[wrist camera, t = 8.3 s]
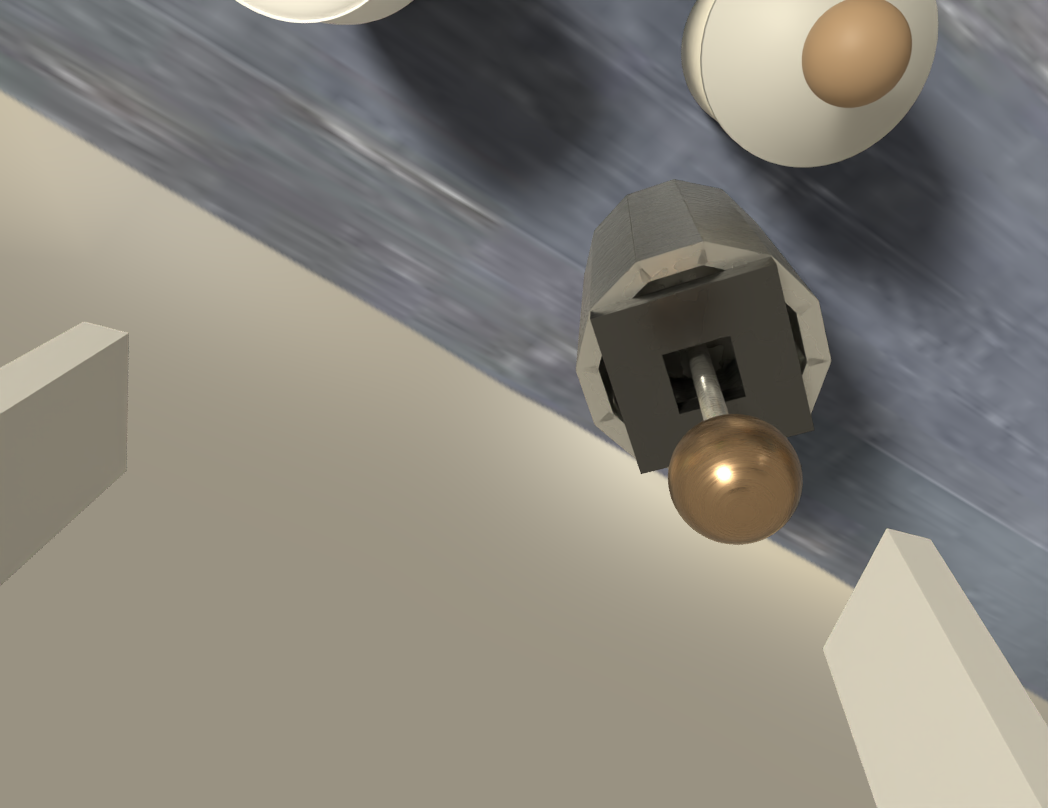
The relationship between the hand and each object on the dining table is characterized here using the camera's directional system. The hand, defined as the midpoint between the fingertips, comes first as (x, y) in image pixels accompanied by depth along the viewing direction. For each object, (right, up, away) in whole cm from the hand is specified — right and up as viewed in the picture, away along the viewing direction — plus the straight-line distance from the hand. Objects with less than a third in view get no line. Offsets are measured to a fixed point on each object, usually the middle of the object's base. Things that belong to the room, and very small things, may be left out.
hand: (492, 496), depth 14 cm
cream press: (+14, +23, +31) cm, 41 cm away
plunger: (+9, +7, +30) cm, 32 cm away
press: (+11, +9, +37) cm, 40 cm away
